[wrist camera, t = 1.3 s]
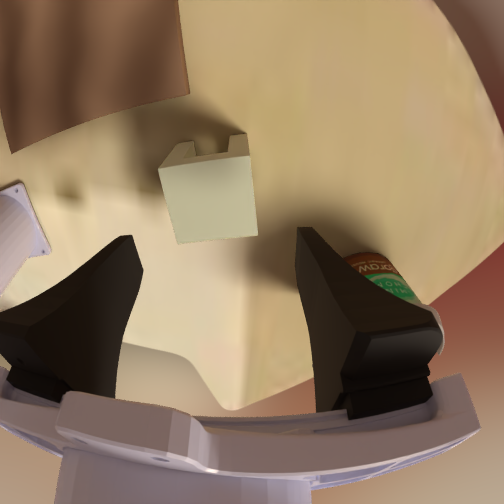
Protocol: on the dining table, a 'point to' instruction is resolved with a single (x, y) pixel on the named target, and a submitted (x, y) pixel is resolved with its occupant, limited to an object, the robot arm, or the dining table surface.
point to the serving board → (84, 62)
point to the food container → (388, 280)
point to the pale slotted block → (210, 192)
